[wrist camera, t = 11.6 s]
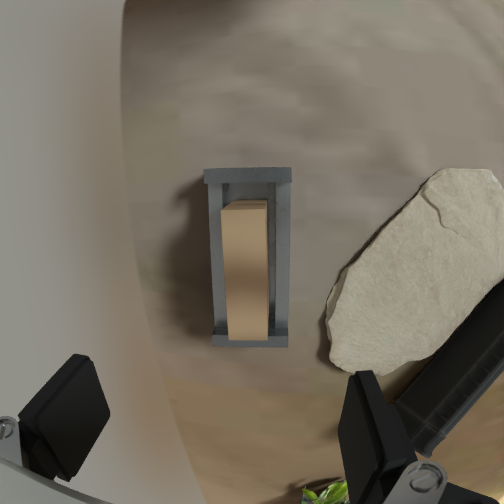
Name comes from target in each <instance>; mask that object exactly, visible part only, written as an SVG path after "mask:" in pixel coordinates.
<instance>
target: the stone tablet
mask: <svg viewBox="0 0 504 504" xmlns="http://www.w3.org/2000/svg"><path fill="white" fill-rule="evenodd" d="M503 279H504V190H503V189H502V187H501V185H500V183H499V181H498V180H497V179H496V178H495V177H494V176H493V174H492V172H491V170H487V169H454V168H445V169H442V170H439V171H437V172H436V173H435V174H434V175H433V176H432V177H430V178H429V180H428V181H427V182H426V183H425V184H424V185H423V186H422V187H421V190H420V191H419V193H418V194H417V195H416V196H415V197H414V198H413V199H412V200H411V201H409V202H408V203H407V204H406V205H405V206H404V208H403V209H402V210H401V212H400V213H399V214H398V215H397V216H395V217H394V218H393V219H392V220H391V221H390V222H389V223H388V224H387V225H386V226H385V227H383V228H382V229H381V231H380V232H379V234H378V235H377V237H376V238H375V239H374V240H373V241H372V242H371V243H370V244H369V246H368V247H367V248H366V249H365V250H364V251H363V253H362V254H361V255H360V256H359V257H358V259H357V260H356V261H355V262H353V263H352V264H350V265H349V266H348V267H346V268H345V269H344V271H343V272H342V273H341V274H340V279H339V281H338V282H337V283H336V284H335V285H334V286H333V289H332V292H331V294H330V295H329V297H328V300H327V310H326V314H327V316H326V319H325V323H326V327H327V336H328V339H329V340H330V342H331V345H330V352H329V358H330V360H331V362H333V363H334V364H335V365H336V366H337V367H340V368H341V369H343V370H345V371H347V372H351V373H353V374H355V372H356V371H362V370H372V371H373V372H374V375H377V376H383V375H386V374H389V373H390V372H392V371H394V370H395V369H397V368H398V367H399V366H401V365H403V364H404V363H406V362H408V361H412V360H422V359H424V358H427V357H429V356H430V355H432V354H433V353H434V352H435V351H436V350H437V349H438V348H440V347H441V346H442V345H443V344H444V342H445V341H446V340H447V339H448V338H449V337H450V335H451V334H452V333H453V331H454V330H455V329H456V328H457V327H458V326H459V325H460V324H461V323H462V322H463V321H464V319H465V318H466V317H467V316H468V315H469V314H470V313H471V311H472V310H473V308H474V307H475V306H476V305H477V304H478V303H479V302H480V301H481V300H482V298H483V297H484V296H485V295H486V294H487V293H488V292H489V291H490V290H491V289H492V288H493V286H495V285H496V284H497V283H499V282H500V281H501V280H503Z"/></svg>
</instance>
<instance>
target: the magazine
mask: <svg viewBox="0 0 504 504" xmlns="http://www.w3.org/2000/svg"><path fill="white" fill-rule="evenodd" d="M503 371H504V279H503V280H501V282H500V283H499V284H498V285H497V286H496V287H495V288H494V290H493V291H492V292H491V293H490V294H489V295H488V296H487V298H486V299H485V300H484V301H483V302H482V303H481V304H480V306H479V307H478V308H477V309H476V310H475V311H474V312H473V314H472V315H471V316H470V317H469V318H468V319H467V321H466V322H465V323H464V324H463V325H462V326H461V327H460V329H459V330H458V331H457V332H456V333H455V334H454V335H453V336H452V338H451V339H450V340H449V341H448V342H447V343H446V344H445V346H444V347H443V348H442V349H441V350H440V351H439V352H438V354H437V355H436V356H435V357H434V358H433V359H432V361H431V362H430V363H429V364H428V365H427V367H426V368H425V369H424V370H423V371H422V373H421V374H420V375H419V376H418V377H417V378H416V380H415V381H414V382H413V383H412V384H411V385H410V386H409V387H408V389H407V390H406V391H405V392H404V393H403V394H402V395H401V396H400V398H395V399H394V400H396V402H395V403H394V405H395V406H396V408H397V410H398V412H399V415H400V417H401V420H402V422H403V424H404V427H405V429H406V432H407V434H408V436H409V439H410V441H411V444H412V446H413V449H414V451H416V452H418V453H420V454H421V455H422V456H424V457H426V458H429V457H431V456H432V451H433V450H434V448H435V447H436V446H437V445H438V444H439V443H440V442H441V441H442V440H444V439H445V438H446V435H447V434H448V433H449V432H450V431H451V430H452V429H453V427H454V426H455V425H456V424H457V423H458V422H459V421H460V420H461V419H462V417H463V416H464V415H465V414H466V413H467V412H468V411H469V409H470V408H471V407H472V406H473V405H474V404H475V403H476V401H477V400H478V399H479V398H480V397H481V396H482V395H483V394H484V393H485V391H486V390H487V389H488V388H489V387H490V386H491V385H492V383H493V382H494V381H495V380H496V379H497V378H498V376H499V375H500V374H501V373H502V372H503ZM444 435H445V436H444Z"/></svg>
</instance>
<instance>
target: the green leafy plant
mask: <svg viewBox="0 0 504 504" xmlns="http://www.w3.org/2000/svg"><path fill="white" fill-rule="evenodd" d="M302 491H303V498H302V500H301V502H300V504H307V503H309V504H350V500H349V501H348V502H347V503H345V502H346V499H345V498H346V496H347V494H348V488H347V482H346V480H344V481H342V482H340V481H336V482H334V483H332V484H331V485H329V486H328V487H327V488H326V489H325V490H324V491H323V492H322V493H321V494H320V495H319V497H317V496H316V494H315V493H314V492H313V491H310V490H308V489H306V484H305V488H302Z"/></svg>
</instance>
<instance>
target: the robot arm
mask: <svg viewBox="0 0 504 504" xmlns="http://www.w3.org/2000/svg"><path fill="white" fill-rule="evenodd" d="M18 417H19V419H20V421H19V422H17V421H16V419H14V418H13V417H9V416H2V417H0V504H112V503H109V502H106V501H103V500H100V499H97V498H94V497H91V496H88V495H85V494H83V493H80V492H78V491H75V490H72V489H70V488H68V487H65V486H63V485H61V484H58V483H56V482H55V480H54V478H55V476H57V477H58V478H60V479H62V480H65V481H67V482H69V481H70V480H71V478H72V477H74V476H76V474H77V473H78V471H79V469H80V467H81V466H82V464H83V462H84V461H85V459H86V457H87V455H88V454H89V452H90V450H91V448H92V447H93V445H94V443H95V442H96V440H97V438H98V437H99V435H100V433H101V432H102V430H103V428H104V426H105V425H106V423H107V421H108V420H109V417H110V410H109V407H108V404H107V402H106V399H105V396H104V393H103V390H102V388H101V385H100V382H99V379H98V376H97V373H96V370H95V367H94V364H93V362H92V361H91V360H90V358H89V357H88V356H85V355H80V354H73V355H72V356H71V357H70V358H69V359H68V361H66V363H65V364H64V365H63V366H62V367H61V368H60V369H59V370H58V371H57V372H56V373H55V374H54V375H53V376H52V377H51V379H50V380H49V381H48V382H47V383H46V384H45V385H44V386H43V387H42V389H40V391H39V392H38V393H37V394H36V395H35V396H34V397H33V398H32V399H31V401H30V402H29V403H28V404H27V405H26V406H25V407H24V408H23V410H22V411H21V412H20V413H19V414H18ZM338 437H339V443H340V448H341V454H342V459H343V465H344V470H345V476H346V482H347V488H348V494H349V500H350V504H499V502H498V501H497V500H495V499H493V498H491V497H488V496H485V495H482V494H479V493H476V492H473V491H470V490H468V489H465V488H462V487H459V486H457V485H454V484H452V483H449V482H447V480H448V477H447V472H446V471H445V469H444V468H443V467H442V466H441V465H440V464H439V463H437V462H435V461H431V460H419V461H418V459H417V456H416V454H415V451H414V449H413V446H412V444H411V441H410V439H409V436H408V434H407V432H406V429H405V427H404V424H403V422H402V420H401V417H400V415H399V412H398V410H397V408H396V406H395V405H394V404H386V401H385V399H384V396H383V394H382V391H381V389H380V386H379V384H378V382H377V379H376V377H375V375H374V372H373V371H372V370H362V371H356V372H355V374H354V375H351V376H350V377H349V381H348V386H347V391H346V396H345V400H344V405H343V410H342V414H341V418H340V423H339V427H338Z"/></svg>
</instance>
